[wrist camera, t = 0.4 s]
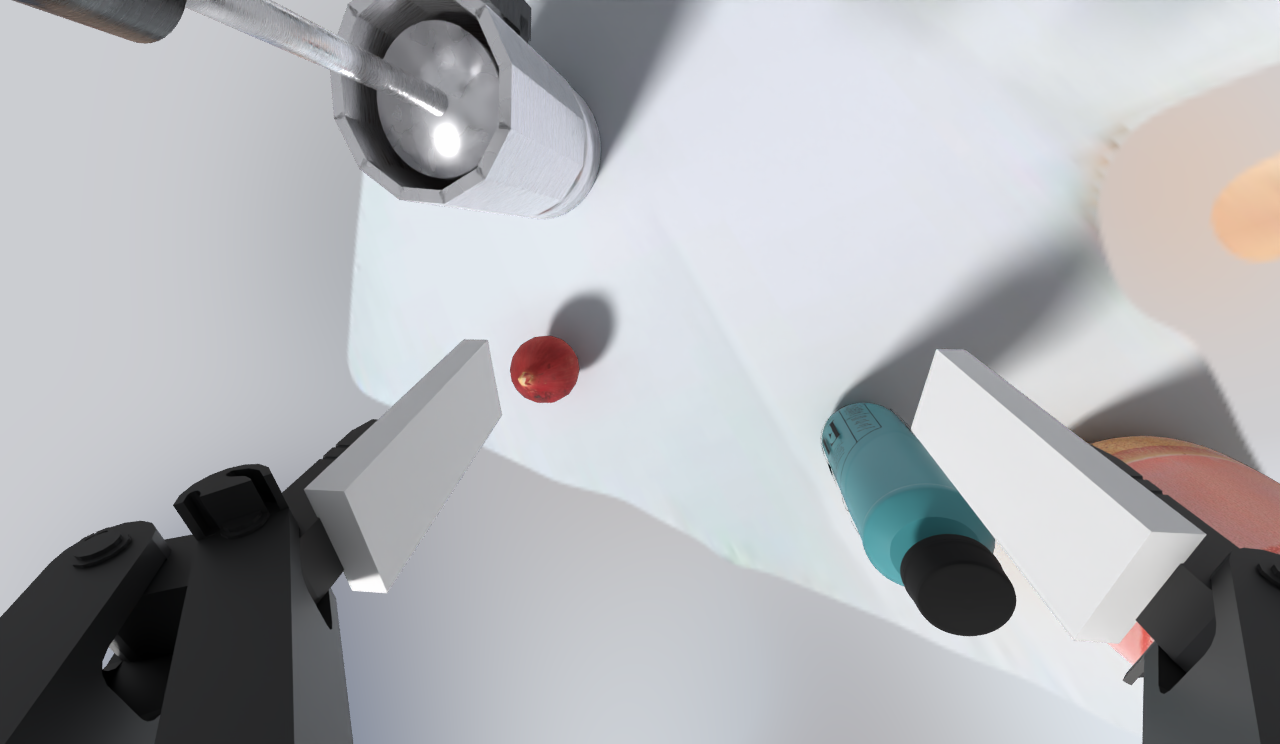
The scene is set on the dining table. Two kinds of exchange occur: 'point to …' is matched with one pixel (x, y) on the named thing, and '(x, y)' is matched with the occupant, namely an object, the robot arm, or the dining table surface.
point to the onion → (544, 369)
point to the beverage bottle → (916, 521)
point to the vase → (1202, 499)
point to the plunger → (350, 69)
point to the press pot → (528, 115)
